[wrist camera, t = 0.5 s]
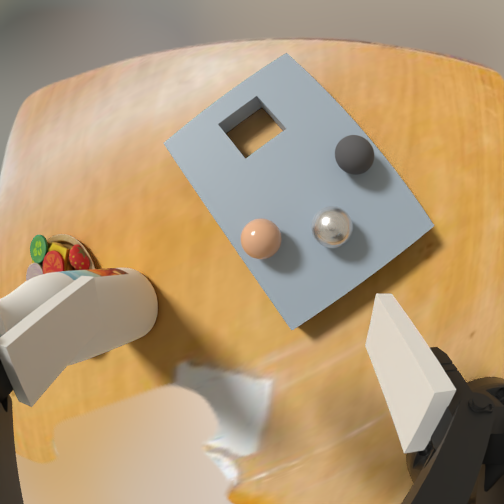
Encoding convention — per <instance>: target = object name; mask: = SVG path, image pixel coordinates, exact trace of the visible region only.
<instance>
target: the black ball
mask: <svg viewBox="0 0 504 504" xmlns="http://www.w3.org/2000/svg"><path fill="white" fill-rule="evenodd" d="M335 159H336V162H337V164H338V165H339V167H340V168H341V169H342V170H343V171H345V172H347V173H349V174H353V175H358V174H362V173H364V172H366V171H367V170H369V169H370V167H371V166H372V164H373V161H374V150H373V147H372V145H371V144H370V143H369V141H368V140H366V139H365V138H363V137H361V136H358V135H349V136H346V137H344V138H343V139H341V140H340V141H339V142H338V144H337V146H336V149H335Z"/></svg>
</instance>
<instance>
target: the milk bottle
mask: <svg viewBox="0 0 504 504" xmlns="http://www.w3.org/2000/svg"><path fill="white" fill-rule="evenodd" d="M81 276H91V277H94V279H95V285H96V291H97V297H98V303H99V308H100V313H101V319H102V323H103V327H102V328H101V329H100V330H99V331H98V332H97V333H96V334H95V335H94V336H93V337H92V339H91V340H90V341H89V342H88V343H87V344H86V345H85V346H84V347H83V348H82V350H81V351H80V352H79V353H78V354H77V355H76V356H75V357H74V359H73V360H72V361H71V362H70V363H69V364H68V365H72V364H75V363H78V362H81V361H84V360H87V359H90V358H92V357H95V356H97V355H100V354H102V353H105V352H108V351H110V350H112V349H115V348H117V347H120V346H122V345H125V344H127V343H129V342H132V341H134V340H136V339H139V338H141V337H143V336H144V335H146V334H147V333H148V332H149V331H150V330H151V329H152V327H153V326H154V324H155V321H156V318H157V314H158V300H157V295H156V293H155V290H154V288H153V286H152V284H151V283H150V282H149V280H148V279H147V278H146V277H145V276H144V275H143V274H141V273H140V272H138V271H136V270H134V269H131V268H107V269H89V270H74V271H61V272H52V273H46V274H42V275H39V276H36V277H33V278H31V279H29V280H28V281H26V282H24V283H23V284H22V285H20V286H19V287H18V288H17V289H15V290H14V291H13V292H11V293H10V294H9V295H7V296H5V297H3V298H1V299H0V336H2V335H3V334H4V333H5V332H7V331H8V330H9V329H10V328H12V327H13V326H14V325H15V324H17V323H18V322H19V321H21V320H23V319H24V318H25V317H26V316H28V315H29V314H30V313H32V312H33V311H34V310H36V309H37V308H38V307H40V306H41V305H42V304H44V303H45V302H46V301H48V300H49V299H50V298H52V297H53V296H54V295H56V294H57V293H58V292H60V291H61V290H63V289H64V288H65V287H67V286H68V285H69V284H71V283H72V282H74V281H75V280H76V279H78V278H79V277H81Z"/></svg>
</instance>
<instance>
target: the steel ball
mask: <svg viewBox="0 0 504 504" xmlns="http://www.w3.org/2000/svg"><path fill="white" fill-rule="evenodd" d="M311 229H312V234H313V236H314V238H315V239H316V241H317V242H318V243H319V244H321V245H322V246H325V247H328V248H337V247H340V246H342V245H344V244H345V243H346V242H347V241H348V240H349V238H350V237H351V234H352V230H353V224H352V220H351V218H350V216H349V214H348V213H347V212H346V211H345V210H343V209H342V208H339V207H336V206H328V207H324V208H322V209H321V210H319V211H318V212H317V213H316V214H315V216H314V218H313V220H312V225H311Z"/></svg>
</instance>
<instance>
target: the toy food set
mask: <svg viewBox="0 0 504 504" xmlns="http://www.w3.org/2000/svg"><path fill="white" fill-rule="evenodd" d="M30 253H31V257H32V264H31V265H30V266H29V267H28V270H27V275H26V280H27V281H28V280H29V279H31V278H33V277H36V276H39V275H42V274H46V273H52V272H61V271H74V270H89V269H95V266H94V263H93V261H92V259H91V257H90V255H89V253H88V251H87V250H86V248H85V247H84V246H83V245H82V244H81V243H80V242H79V241H78V240H77V239H75V238H74V237H72V236H69V235H65V234H59V235H55V236H52V237H51V238H49V239H48V240H46V238H45V237H44V236H43V235H36V236H35V237H34V238H33V240H32V242H31V246H30Z"/></svg>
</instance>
